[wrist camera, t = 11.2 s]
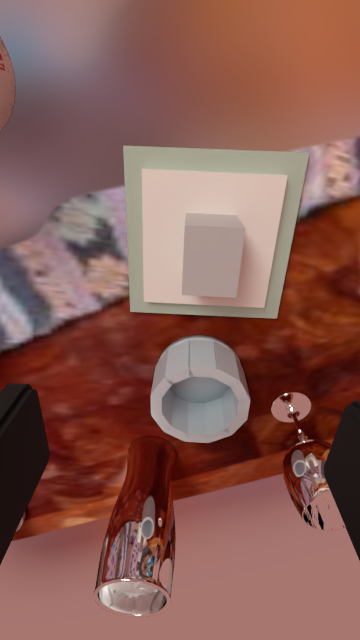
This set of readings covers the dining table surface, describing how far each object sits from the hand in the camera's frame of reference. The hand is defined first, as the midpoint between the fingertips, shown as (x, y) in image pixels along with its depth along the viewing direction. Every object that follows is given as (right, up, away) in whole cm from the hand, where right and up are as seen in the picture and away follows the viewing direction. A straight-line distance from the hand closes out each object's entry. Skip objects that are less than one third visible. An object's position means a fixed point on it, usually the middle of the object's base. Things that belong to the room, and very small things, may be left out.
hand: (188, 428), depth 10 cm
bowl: (+2, -2, +24) cm, 24 cm away
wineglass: (+12, -6, +26) cm, 30 cm away
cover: (+2, +10, +17) cm, 20 cm away
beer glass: (-4, -13, +31) cm, 34 cm away
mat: (+2, +10, +18) cm, 21 cm away
